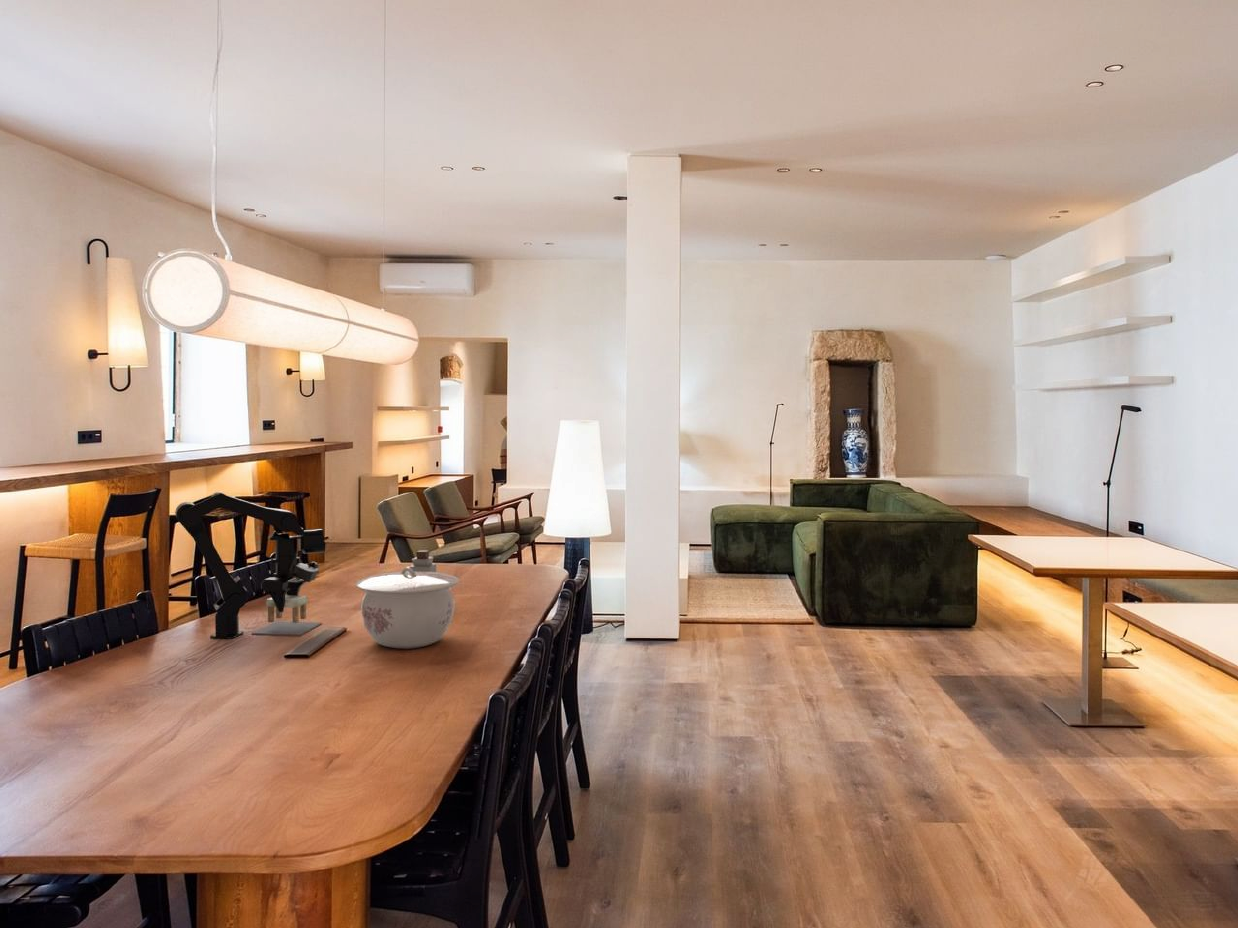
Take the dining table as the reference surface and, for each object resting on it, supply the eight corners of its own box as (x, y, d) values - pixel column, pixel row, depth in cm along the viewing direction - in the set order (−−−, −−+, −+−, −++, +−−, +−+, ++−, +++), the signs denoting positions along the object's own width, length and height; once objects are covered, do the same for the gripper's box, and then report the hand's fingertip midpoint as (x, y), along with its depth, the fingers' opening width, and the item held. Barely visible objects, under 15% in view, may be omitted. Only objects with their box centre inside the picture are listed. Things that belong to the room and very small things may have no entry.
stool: (266, 622, 243) (266, 599, 242) (277, 617, 249) (277, 594, 249) (297, 623, 242) (297, 600, 242) (307, 617, 248) (307, 595, 248)
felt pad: (300, 635, 238) (300, 634, 238) (251, 634, 239) (251, 633, 239) (321, 623, 252) (321, 622, 252) (276, 622, 253) (276, 621, 253)
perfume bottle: (436, 604, 279) (436, 549, 278) (429, 609, 272) (429, 552, 271) (416, 604, 280) (416, 549, 279) (409, 608, 273) (408, 552, 272)
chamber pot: (435, 659, 216) (435, 577, 215) (335, 652, 221) (334, 573, 220) (475, 632, 243) (475, 559, 242) (386, 627, 249) (385, 556, 248)
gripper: (298, 560, 235) (299, 617, 235) (327, 550, 253) (328, 602, 254) (259, 559, 236) (260, 616, 236) (291, 549, 254) (291, 601, 255)
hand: (287, 609), depth 245 cm, fingers closed on stool, 6 cm apart
